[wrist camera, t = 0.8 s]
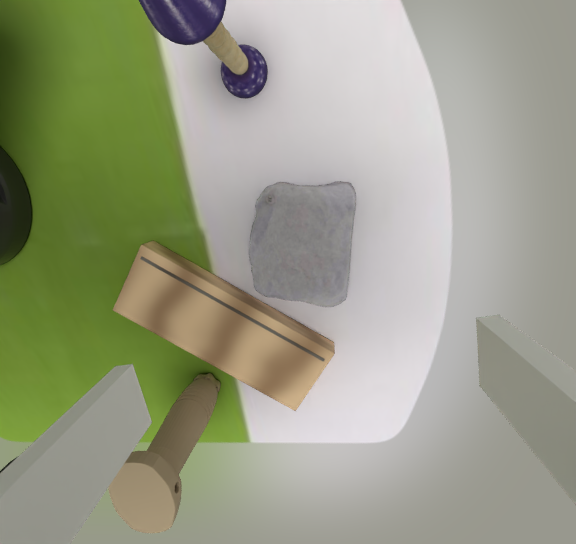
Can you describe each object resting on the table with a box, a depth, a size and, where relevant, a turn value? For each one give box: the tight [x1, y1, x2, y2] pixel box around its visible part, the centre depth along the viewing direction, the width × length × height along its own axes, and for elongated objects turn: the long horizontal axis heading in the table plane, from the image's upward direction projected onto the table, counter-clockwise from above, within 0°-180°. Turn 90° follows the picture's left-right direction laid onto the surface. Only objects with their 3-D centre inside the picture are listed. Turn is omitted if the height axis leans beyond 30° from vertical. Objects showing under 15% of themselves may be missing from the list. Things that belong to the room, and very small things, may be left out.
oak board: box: [113, 241, 335, 411], centre depth 36 cm, size 22×8×3 cm, turn 61°
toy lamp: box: [139, 0, 267, 98], centre depth 23 cm, size 5×5×17 cm
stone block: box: [249, 181, 356, 307], centre depth 33 cm, size 12×5×10 cm
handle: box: [109, 373, 220, 533], centre depth 32 cm, size 5×6×15 cm
